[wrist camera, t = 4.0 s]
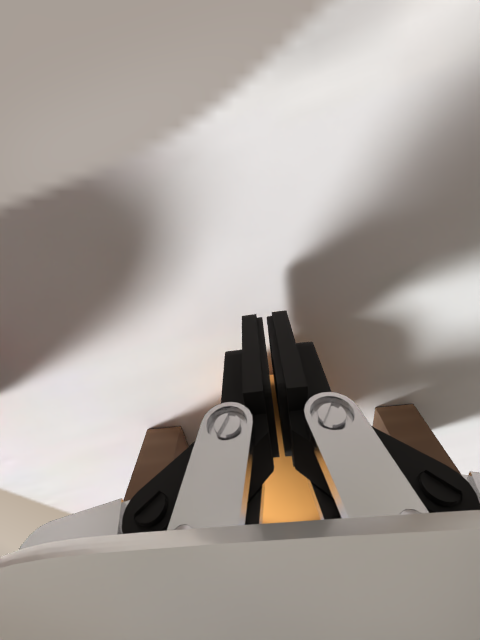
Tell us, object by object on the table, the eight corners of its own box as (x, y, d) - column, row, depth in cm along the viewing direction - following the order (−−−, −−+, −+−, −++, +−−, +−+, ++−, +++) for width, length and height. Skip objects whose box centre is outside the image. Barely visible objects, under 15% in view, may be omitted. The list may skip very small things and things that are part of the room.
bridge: (147, 429, 16) (50, 715, 8) (413, 404, 15) (620, 707, 7) (162, 460, 18) (93, 726, 10) (404, 438, 17) (566, 721, 8)
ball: (184, 411, 9) (210, 578, 10) (368, 391, 9) (388, 569, 9) (214, 368, 15) (229, 473, 16) (325, 355, 15) (338, 463, 15)
